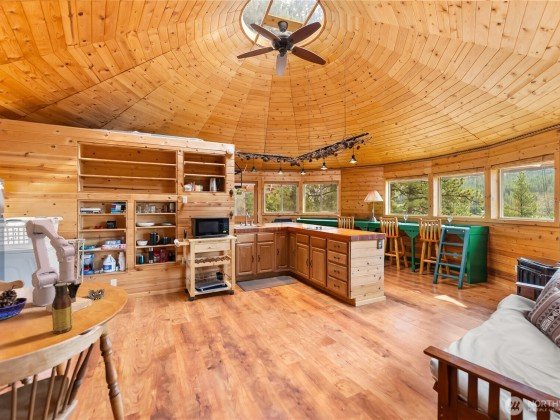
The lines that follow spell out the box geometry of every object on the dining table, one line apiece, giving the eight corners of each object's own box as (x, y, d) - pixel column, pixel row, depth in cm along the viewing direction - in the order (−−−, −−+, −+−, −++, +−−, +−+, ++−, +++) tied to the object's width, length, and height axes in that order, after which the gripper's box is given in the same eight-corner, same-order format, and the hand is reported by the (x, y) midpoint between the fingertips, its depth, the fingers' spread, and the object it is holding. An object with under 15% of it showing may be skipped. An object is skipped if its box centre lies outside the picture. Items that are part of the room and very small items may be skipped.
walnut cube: (57, 304, 128) (57, 294, 128) (68, 300, 132) (68, 290, 132) (65, 305, 126) (64, 295, 126) (75, 301, 131) (75, 291, 131)
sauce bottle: (60, 327, 110) (59, 281, 110) (76, 327, 111) (75, 280, 110) (48, 335, 104) (47, 286, 103) (64, 334, 104) (63, 285, 104)
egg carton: (88, 296, 148) (88, 288, 148) (104, 293, 152) (104, 286, 152) (87, 301, 139) (87, 294, 139) (104, 298, 144) (104, 291, 143)
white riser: (46, 311, 127) (45, 305, 127) (71, 302, 138) (71, 296, 138) (67, 314, 123) (66, 308, 123) (91, 305, 134) (91, 299, 134)
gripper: (47, 270, 127) (47, 298, 128) (68, 273, 123) (69, 301, 124) (62, 267, 134) (63, 293, 134) (83, 269, 130) (84, 296, 130)
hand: (67, 297), depth 129 cm, fingers open, 7 cm apart
